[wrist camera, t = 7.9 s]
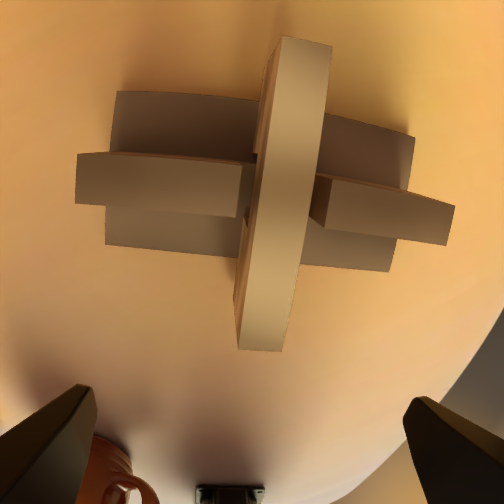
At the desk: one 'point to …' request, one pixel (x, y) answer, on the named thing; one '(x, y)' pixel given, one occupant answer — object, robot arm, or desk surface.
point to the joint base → (250, 183)
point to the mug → (111, 477)
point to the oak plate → (280, 190)
